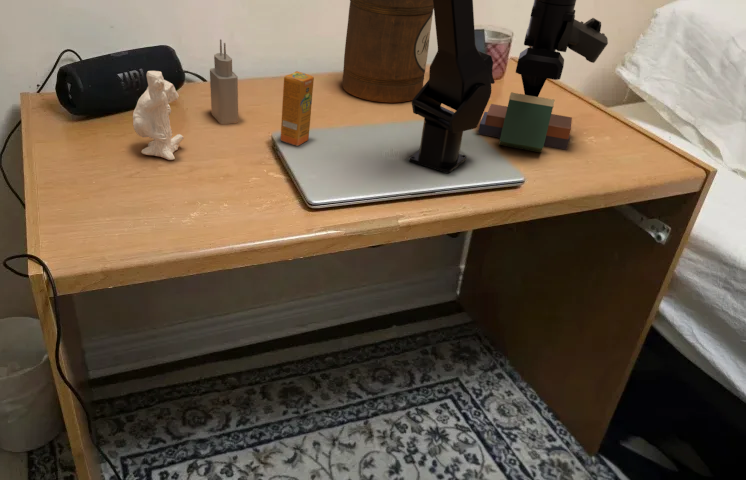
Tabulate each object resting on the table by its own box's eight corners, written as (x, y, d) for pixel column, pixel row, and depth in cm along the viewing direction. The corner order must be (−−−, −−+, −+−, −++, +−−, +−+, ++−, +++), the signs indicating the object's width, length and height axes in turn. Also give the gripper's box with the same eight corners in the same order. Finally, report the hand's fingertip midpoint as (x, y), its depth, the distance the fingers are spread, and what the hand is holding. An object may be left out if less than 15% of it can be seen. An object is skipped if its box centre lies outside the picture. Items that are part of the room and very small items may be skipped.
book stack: (482, 121, 112) (486, 101, 110) (567, 136, 109) (573, 116, 107) (477, 134, 107) (481, 113, 105) (566, 150, 104) (572, 129, 102)
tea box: (502, 133, 107) (512, 85, 102) (543, 140, 106) (556, 92, 101) (496, 152, 102) (507, 103, 97) (539, 160, 100) (552, 111, 96)
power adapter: (220, 124, 103) (218, 46, 97) (210, 112, 107) (207, 36, 101) (239, 122, 105) (238, 45, 98) (228, 110, 109) (226, 35, 102)
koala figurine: (188, 163, 91) (182, 77, 85) (137, 166, 90) (128, 78, 83) (181, 138, 98) (176, 57, 91) (134, 141, 96) (125, 58, 90)
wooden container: (434, 102, 118) (455, -31, 106) (355, 104, 115) (367, -33, 102) (405, 75, 130) (420, -47, 118) (332, 77, 126) (341, -49, 114)
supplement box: (299, 147, 98) (301, 80, 93) (280, 141, 100) (281, 75, 94) (311, 140, 101) (314, 75, 95) (292, 134, 102) (294, 69, 96)
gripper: (615, 24, 86) (582, 136, 95) (611, -6, 100) (583, 94, 109) (528, 12, 88) (504, 122, 97) (537, -15, 103) (515, 83, 112)
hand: (530, 105), depth 104 cm, fingers closed
